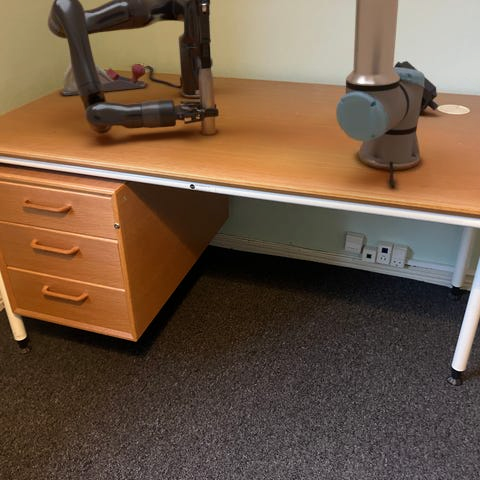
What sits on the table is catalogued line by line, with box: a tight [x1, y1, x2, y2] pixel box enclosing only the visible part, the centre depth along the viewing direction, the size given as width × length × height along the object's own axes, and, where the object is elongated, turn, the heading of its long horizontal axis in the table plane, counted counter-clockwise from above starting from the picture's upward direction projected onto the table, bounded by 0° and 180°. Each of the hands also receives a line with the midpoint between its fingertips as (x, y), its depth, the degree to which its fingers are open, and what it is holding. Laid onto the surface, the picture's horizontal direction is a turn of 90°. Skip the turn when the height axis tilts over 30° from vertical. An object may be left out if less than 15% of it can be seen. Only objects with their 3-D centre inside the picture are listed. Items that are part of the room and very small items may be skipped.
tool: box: [393, 60, 439, 113], centre depth 169 cm, size 6×19×15 cm, turn 51°
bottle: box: [199, 67, 217, 136], centre depth 153 cm, size 4×4×21 cm
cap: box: [198, 57, 214, 68], centre depth 148 cm, size 4×4×2 cm
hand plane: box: [61, 62, 146, 96], centre depth 194 cm, size 7×31×15 cm, turn 107°
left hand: (216, 109), depth 155 cm, fingers closed on bottle, 4 cm apart
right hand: (205, 66), depth 148 cm, fingers closed on cap, 4 cm apart
